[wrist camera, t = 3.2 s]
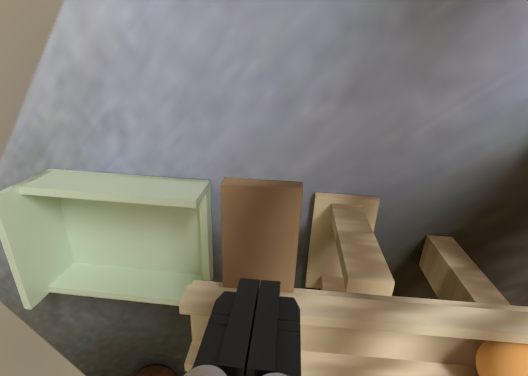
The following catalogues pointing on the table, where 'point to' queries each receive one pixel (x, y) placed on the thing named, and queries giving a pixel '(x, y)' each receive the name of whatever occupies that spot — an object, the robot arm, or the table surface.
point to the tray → (107, 235)
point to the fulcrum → (372, 260)
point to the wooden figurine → (156, 371)
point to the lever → (342, 300)
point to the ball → (502, 359)
